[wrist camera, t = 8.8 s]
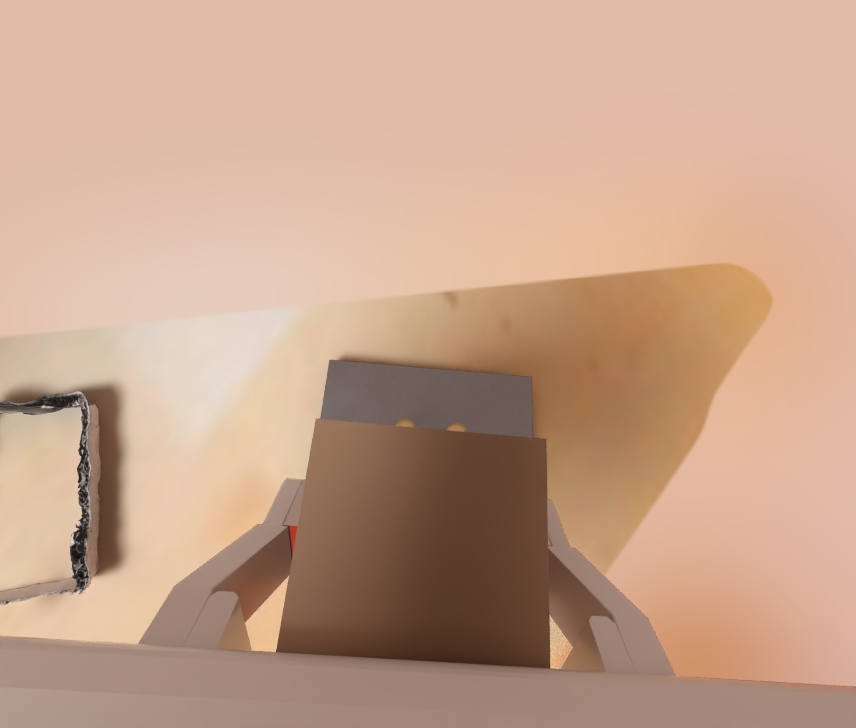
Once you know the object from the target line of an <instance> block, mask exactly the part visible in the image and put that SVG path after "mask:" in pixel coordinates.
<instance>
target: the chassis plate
mask: <svg viewBox="0 0 856 728" xmlns="http://www.w3.org/2000/svg"><path fill="white" fill-rule="evenodd" d="M321 419H324V420H336V421H347V422H359V423H370V424H381V425H393V426H404V427H416V428H427V429H438V430H450V431H461V432H473V433H484V434H495V435H507V436H518V437H529V438H533V424H532V377H527V376H515V375H504V374H492V373H480V372H468V371H456V370H444V369H433V368H421V367H409V366H397V365H385V364H373V363H362V362H350V361H338V360H329V367H328V373H327V380H326V386H325V393H324V399H323V406H322V412H321Z"/></svg>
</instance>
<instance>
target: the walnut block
mask: <svg viewBox="0 0 856 728" xmlns="http://www.w3.org/2000/svg"><path fill="white" fill-rule="evenodd" d="M276 652H281V653H298V654H315V655H332V656H349V657H366V658H383V659H400V660H416V661H433V662H450V663H467V664H483V665H500V666H516V667H533V668H549V669H550V626H549V570H548V515H547V460H546V439H541V438H529V437H518V436H507V435H495V434H484V433H473V432H461V431H450V430H438V429H427V428H416V427H404V426H393V425H381V424H370V423H359V422H347V421H336V420H324V419H316V422H315V428H314V433H313V439H312V445H311V451H310V457H309V463H308V469H307V474H306V480H305V486H304V492H303V498H302V504H301V510H300V515H299V521H298V527H297V533H296V539H295V545H294V550H293V556H292V562H291V568H290V574H289V580H288V586H287V591H286V597H285V603H284V609H283V615H282V621H281V627H280V632H279V638H278V644H277V650H276Z"/></svg>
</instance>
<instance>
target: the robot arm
mask: <svg viewBox="0 0 856 728" xmlns="http://www.w3.org/2000/svg"><path fill="white" fill-rule="evenodd" d="M304 486H305V480H300V479H290V478H287V479H286V480H285V481H284V482H283V483H282V485H281V487H280V489H279V492H278V494H277V496H276V498H275V500H274V502H273V504H272V506H271V508H270V510H269V512H268V514H267V516H266V519H265V521H264V523H263V524H257V525H256V526H254V527H253V528H252V529H250V530H249V531H248V532H246V533H245V534H244V535H242V536H241V537H240V538H238V539H237V540H236V541H234V542H233V543H232V544H230V545H229V546H227V547H226V548H225V549H223V550H222V551H221V552H219V553H218V554H217V555H215V556H214V557H213V558H211V559H210V560H209V561H207V562H206V563H205V564H203V565H202V566H201V567H199V568H198V569H197V570H195V571H194V572H193V573H191V574H190V575H189V576H187V577H186V578H185V579H183V580H182V581H181V582H179V583H178V584H176V585H175V586H174V587H173V589H172V591H171V592H170V594H169V595H168V597H167V599H166V600H165V602H164V603H163V605H162V607H161V608H160V610H159V611H158V613H157V615H156V616H155V618H154V619H153V621H152V623H151V624H150V626H149V627H148V629H147V631H146V632H145V634H144V635H143V637H142V639H141V640H140V642H139V643H138V644H129V643H112V642H95V641H78V640H62V639H45V638H28V637H12V636H0V728H856V687H854V686H835V685H819V684H802V683H787V682H770V681H752V680H735V679H719V678H701V677H684V676H676V675H675V673H674V671H673V669H672V667H671V665H670V662H669V660H668V658H667V656H666V654H665V652H664V650H663V648H662V646H661V644H660V642H659V640H658V638H657V636H656V634H655V632H654V630H653V628H652V626H651V624H650V622H649V619H648V618H647V617H646V616H645V615H644V614H643V613H642V612H641V611H640V610H639V609H638V608H637V607H636V606H635V605H634V604H633V603H631V601H630V600H628V599H627V598H626V597H625V596H624V595H623V594H622V593H621V592H620V591H619V590H618V589H617V588H616V587H615V586H614V585H613V584H612V583H611V582H610V581H609V580H608V579H607V578H606V577H605V576H604V575H603V574H602V573H601V572H599V571H598V570H597V569H596V568H595V567H594V566H593V565H592V564H591V563H590V562H589V561H588V560H587V559H586V558H585V557H584V556H583V555H582V554H581V553H580V552H579V551H578V550H577V549H576V548H572V547H570V546H569V543H568V541H567V538H566V535H565V533H564V530H563V528H562V525H561V522H560V520H559V517H558V514H557V512H556V509H555V506H554V504H553V502H552V501H551V500H550V499H547V515H548V570H549V614H550V615H551V617H552V618H553V620H554V621H555V622H556V624H557V625H558V627H559V628H560V629H561V631H562V632H563V634H564V635H565V636H566V638H567V639H568V641H569V642H570V643H571V645H572V646H573V648H572V650H571V652H570V654H569V655H568V657H567V659H566V661H565V662H564V664H563V666H562V667H561V668H562V669H549V668H533V667H516V666H500V665H483V664H467V663H450V662H433V661H416V660H400V659H383V658H366V657H349V656H332V655H315V654H298V653H281V652H264V651H251V645H250V641H249V637H248V633H247V629H246V625H245V622H246V621H247V620H248V619H249V618H250V617H251V616H252V614H253V613H254V612H255V611H256V610H257V609H258V608H259V607H260V606H261V605H262V604H263V603H264V602H265V600H266V599H267V598H268V597H269V596H270V595H271V594H272V593H273V592H274V591H275V590H276V589H277V588H278V586H279V585H280V584H281V583H282V582H283V581H284V580H285V579H286V578H287V577H288V576H289V574H290V568H291V562H292V556H293V550H294V545H295V539H296V533H297V527H298V521H299V515H300V510H301V504H302V498H303V492H304Z"/></svg>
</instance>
